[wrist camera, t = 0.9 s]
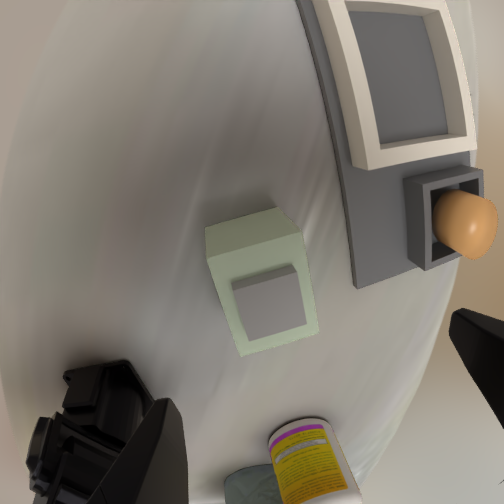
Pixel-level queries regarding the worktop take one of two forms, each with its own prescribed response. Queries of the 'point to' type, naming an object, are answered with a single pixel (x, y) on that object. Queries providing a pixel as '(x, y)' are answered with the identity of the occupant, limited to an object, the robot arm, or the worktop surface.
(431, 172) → the chassis
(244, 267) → the pale green block
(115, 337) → the worktop surface
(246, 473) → the drinking glass
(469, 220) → the click button
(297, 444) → the supplement bottle
